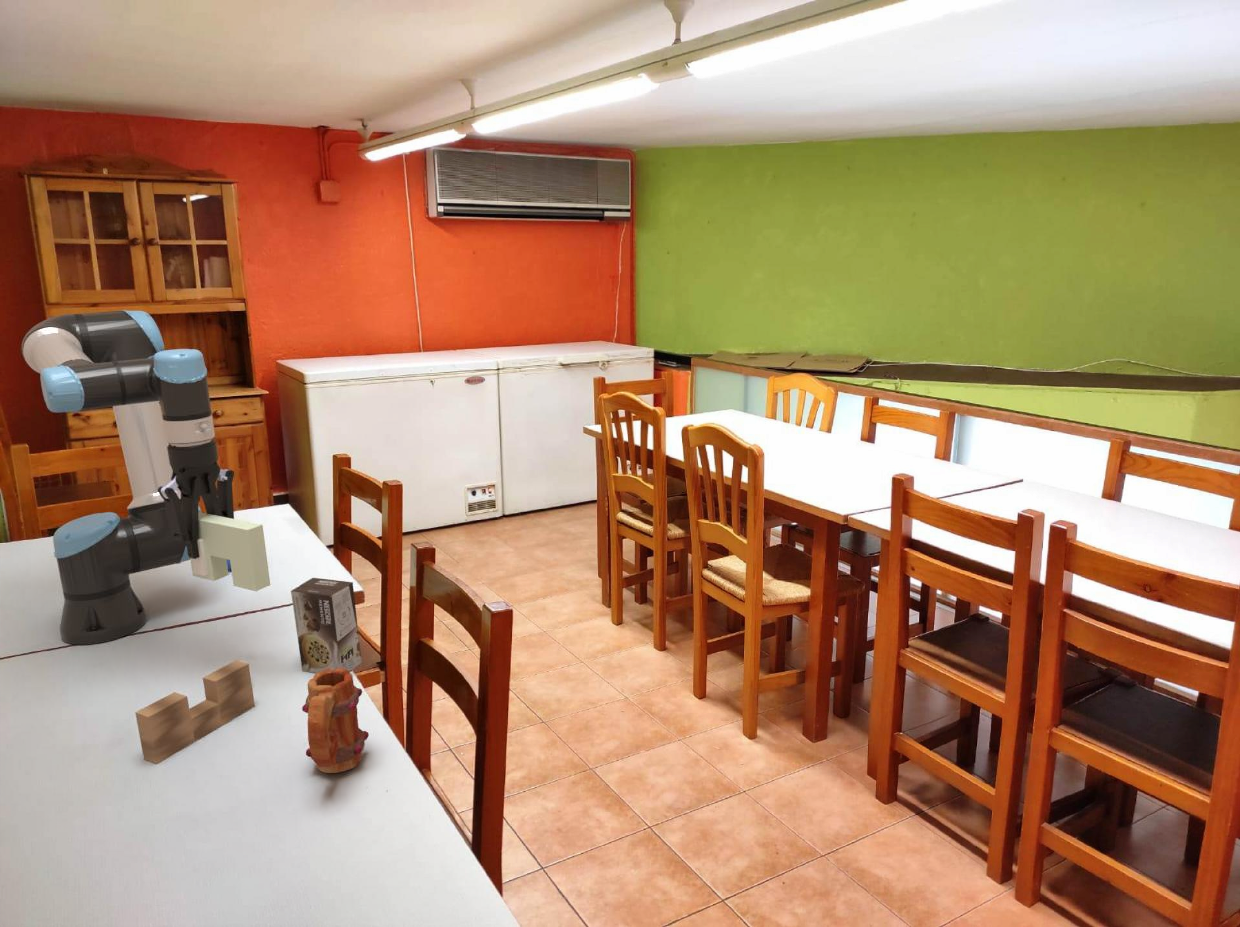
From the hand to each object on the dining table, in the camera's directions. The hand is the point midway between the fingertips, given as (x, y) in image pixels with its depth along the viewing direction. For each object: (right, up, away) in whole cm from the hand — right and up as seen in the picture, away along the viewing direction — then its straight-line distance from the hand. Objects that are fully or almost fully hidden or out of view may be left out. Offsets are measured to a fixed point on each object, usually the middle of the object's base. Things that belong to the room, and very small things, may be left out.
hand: (210, 569), depth 149 cm
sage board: (+5, -2, -2) cm, 5 cm away
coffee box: (+19, -19, +7) cm, 28 cm away
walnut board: (+5, -24, -14) cm, 28 cm away
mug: (+31, -27, -25) cm, 48 cm away
